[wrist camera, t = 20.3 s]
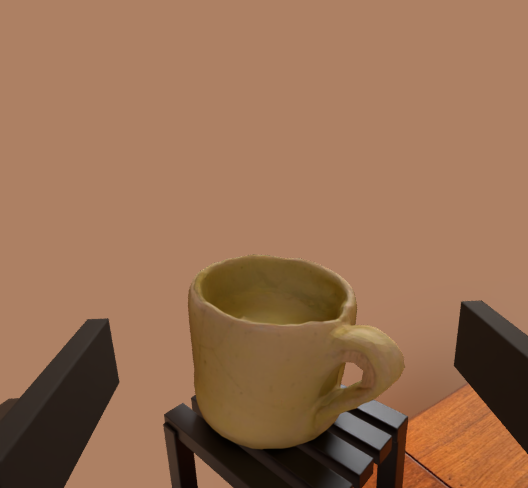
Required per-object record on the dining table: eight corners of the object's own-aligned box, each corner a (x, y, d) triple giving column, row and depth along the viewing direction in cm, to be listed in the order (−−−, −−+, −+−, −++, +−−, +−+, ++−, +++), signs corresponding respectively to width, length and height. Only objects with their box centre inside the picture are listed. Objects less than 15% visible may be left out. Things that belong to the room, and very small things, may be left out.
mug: (137, 367, 25) (179, 223, 22) (264, 356, 31) (308, 243, 28) (222, 563, 16) (311, 357, 13) (377, 492, 22) (459, 343, 19)
